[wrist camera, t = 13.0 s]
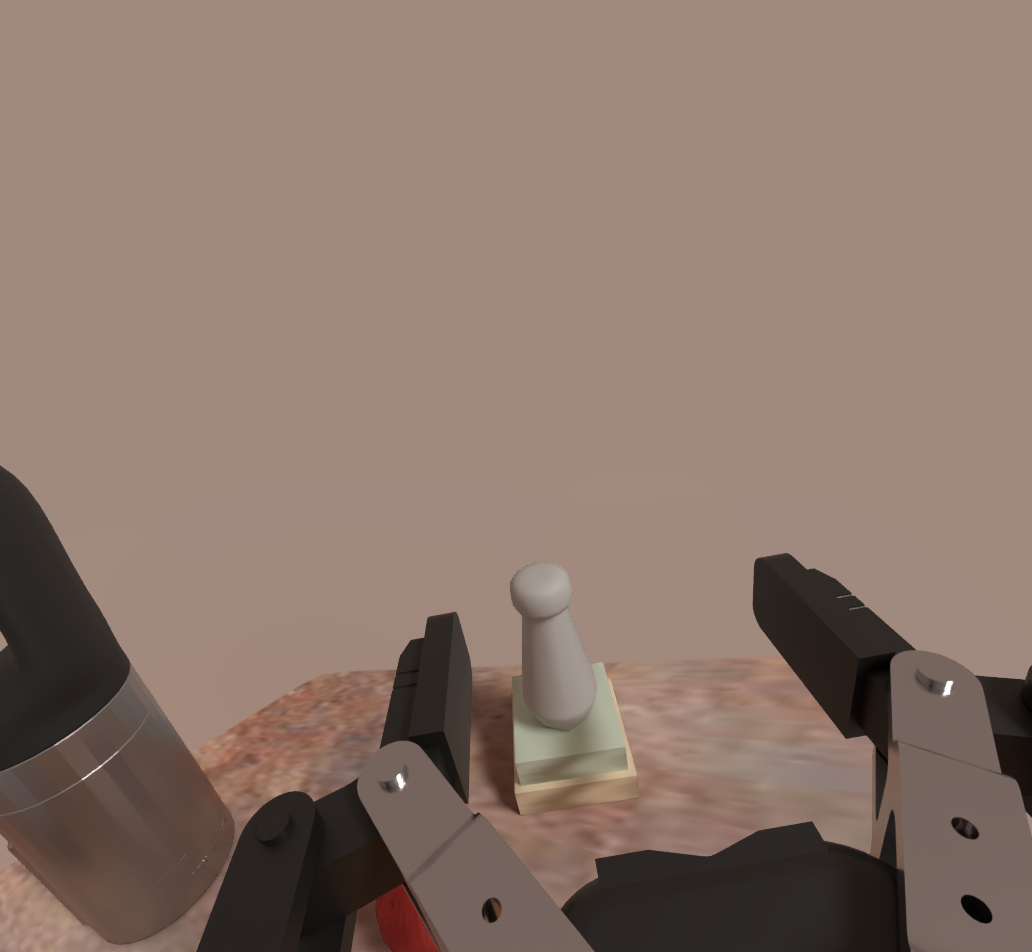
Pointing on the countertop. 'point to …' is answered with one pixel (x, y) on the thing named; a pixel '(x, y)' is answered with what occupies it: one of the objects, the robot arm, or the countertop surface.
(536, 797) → the brick base
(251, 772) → the countertop surface
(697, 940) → the robot arm
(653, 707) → the countertop surface
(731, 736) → the countertop surface
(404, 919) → the onion
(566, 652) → the salt shaker
